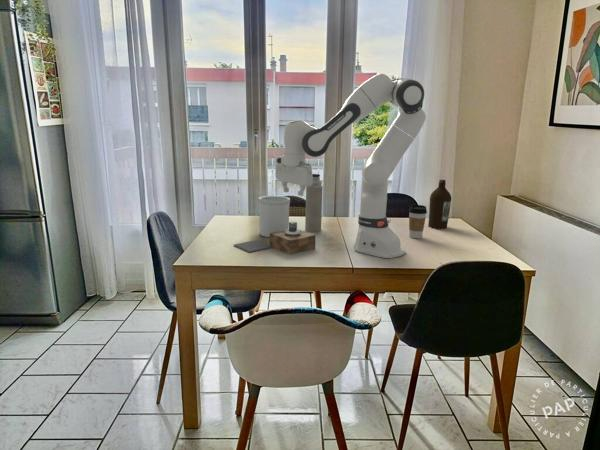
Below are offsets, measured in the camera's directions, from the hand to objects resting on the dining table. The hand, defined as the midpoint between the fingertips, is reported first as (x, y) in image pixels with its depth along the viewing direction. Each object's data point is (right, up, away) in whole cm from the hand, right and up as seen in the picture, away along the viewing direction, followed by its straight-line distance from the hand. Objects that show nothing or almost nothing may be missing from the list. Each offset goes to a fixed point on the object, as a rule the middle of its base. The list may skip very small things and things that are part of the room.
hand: (293, 193), depth 180 cm
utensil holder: (-10, -18, +26) cm, 33 cm away
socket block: (0, -23, +6) cm, 24 cm away
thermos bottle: (+9, -16, +35) cm, 39 cm away
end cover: (0, -21, +5) cm, 22 cm away
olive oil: (+75, -14, +46) cm, 89 cm away
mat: (-17, -23, +5) cm, 29 cm away
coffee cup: (+58, -19, +26) cm, 67 cm away
